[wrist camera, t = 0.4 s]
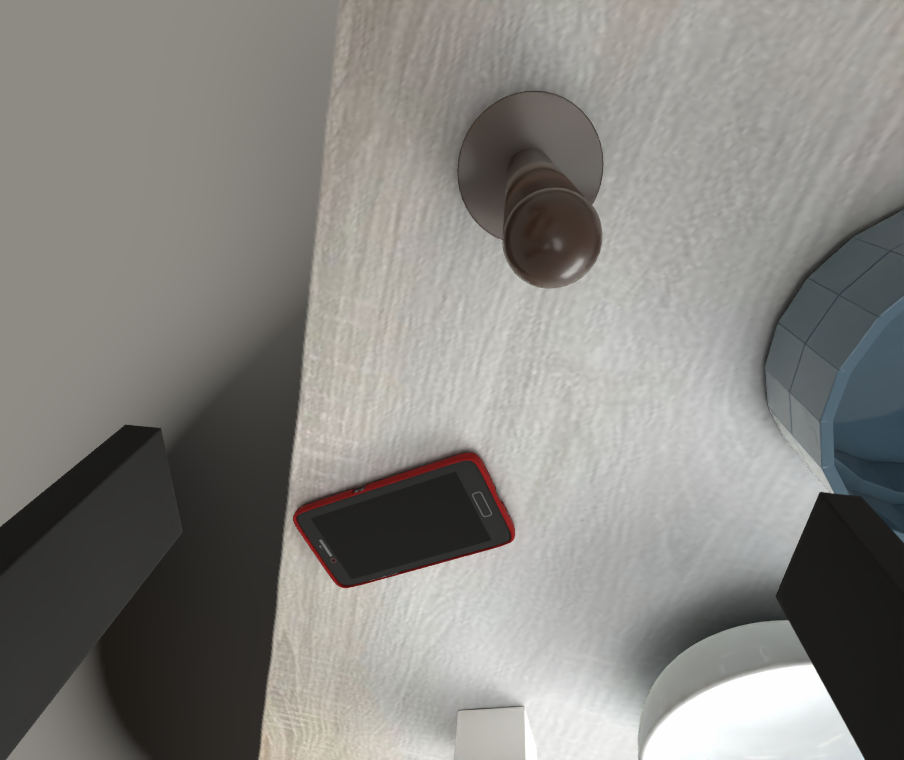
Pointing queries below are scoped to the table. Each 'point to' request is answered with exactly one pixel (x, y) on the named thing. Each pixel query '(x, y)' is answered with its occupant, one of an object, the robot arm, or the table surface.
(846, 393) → the mixing bowl
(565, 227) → the paper towel holder
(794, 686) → the serving bowl
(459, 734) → the milk
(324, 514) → the cell phone
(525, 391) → the table surface
